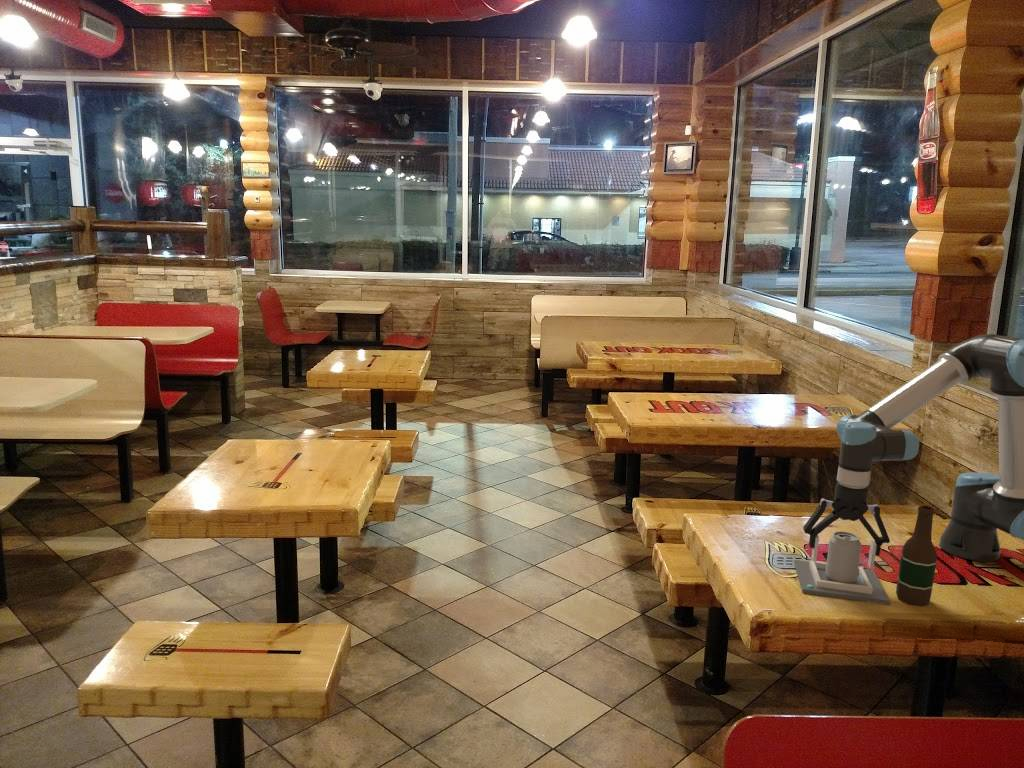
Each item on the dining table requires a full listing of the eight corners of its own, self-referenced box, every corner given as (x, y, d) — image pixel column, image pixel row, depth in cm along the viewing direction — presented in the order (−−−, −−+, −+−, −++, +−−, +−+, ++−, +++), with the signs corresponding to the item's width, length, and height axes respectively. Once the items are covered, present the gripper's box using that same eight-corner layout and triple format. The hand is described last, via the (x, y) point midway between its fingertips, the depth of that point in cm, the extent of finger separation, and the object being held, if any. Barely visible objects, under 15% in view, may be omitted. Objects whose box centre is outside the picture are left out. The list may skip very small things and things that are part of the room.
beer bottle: (888, 592, 195) (902, 501, 190) (917, 592, 196) (932, 501, 191) (906, 606, 188) (921, 513, 183) (936, 606, 188) (952, 513, 184)
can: (850, 574, 202) (856, 530, 200) (860, 587, 195) (866, 542, 193) (821, 571, 203) (826, 528, 201) (829, 584, 196) (835, 540, 193)
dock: (873, 573, 206) (874, 564, 205) (889, 604, 188) (890, 595, 188) (793, 563, 210) (794, 554, 209) (802, 592, 193) (803, 583, 192)
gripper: (902, 484, 195) (891, 563, 199) (798, 474, 200) (789, 551, 204) (910, 494, 188) (898, 576, 192) (801, 483, 193) (792, 562, 197)
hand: (841, 563), depth 198 cm, fingers open, 13 cm apart
